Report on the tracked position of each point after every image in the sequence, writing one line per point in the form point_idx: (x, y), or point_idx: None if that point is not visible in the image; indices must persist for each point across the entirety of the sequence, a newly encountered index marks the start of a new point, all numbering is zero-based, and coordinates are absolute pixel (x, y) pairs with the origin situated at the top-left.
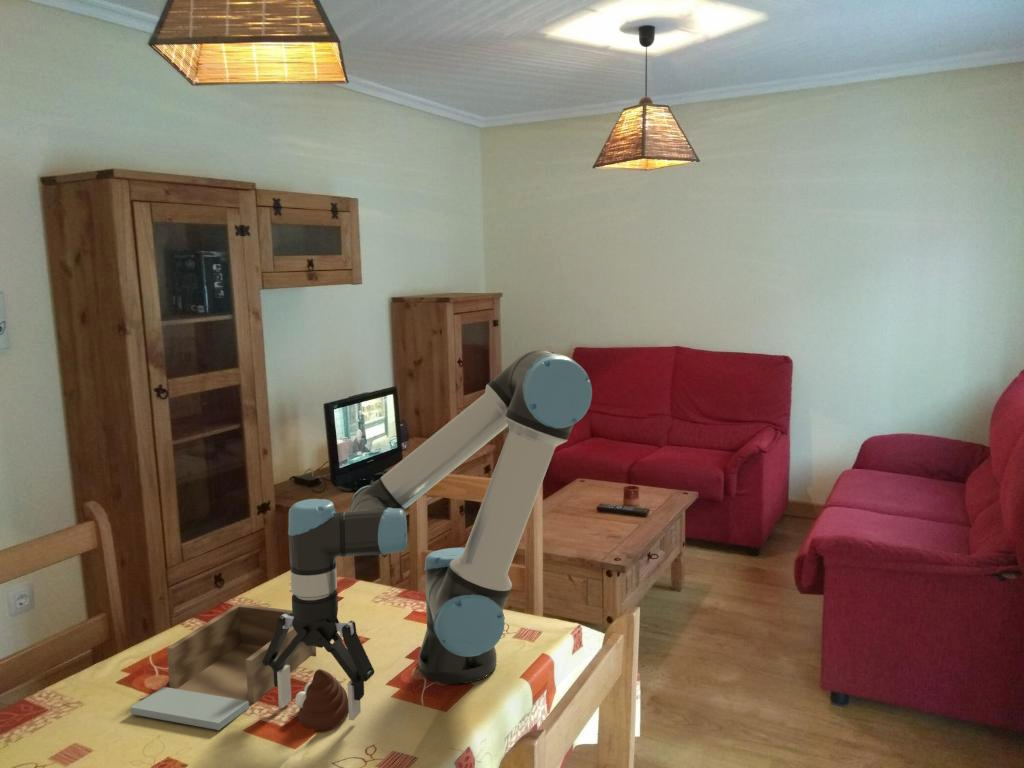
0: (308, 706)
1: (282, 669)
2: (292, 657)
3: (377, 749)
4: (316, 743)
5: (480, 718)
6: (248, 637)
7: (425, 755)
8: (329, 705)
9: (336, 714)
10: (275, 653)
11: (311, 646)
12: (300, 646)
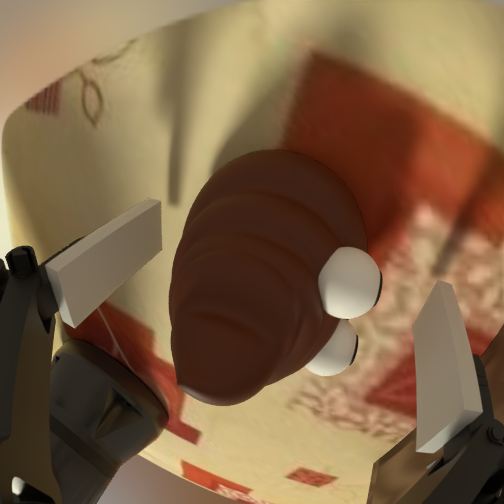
0: (292, 217)
1: (452, 430)
2: (416, 466)
3: (81, 107)
4: (246, 91)
5: (15, 241)
6: None
7: (20, 118)
8: (195, 224)
9: (192, 211)
10: (478, 502)
11: (376, 482)
12: (395, 488)
